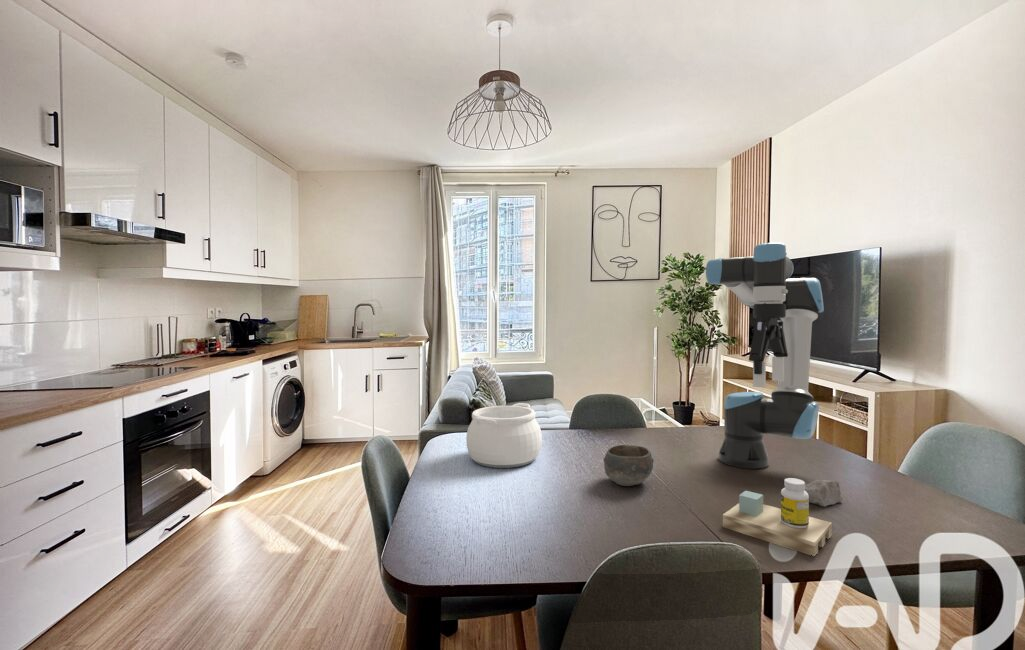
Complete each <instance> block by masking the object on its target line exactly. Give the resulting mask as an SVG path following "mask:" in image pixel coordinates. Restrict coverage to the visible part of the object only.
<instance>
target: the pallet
mask: <svg viewBox="0 0 1025 650" xmlns="http://www.w3.org/2000/svg"><path fill="white" fill-rule="evenodd" d="M722 528H724V529H728V530H730V531H733V532H736V533H741V534H743V535H746V536H749V537H753V538H755V539H758V540H762V541H765V542H768V543H771V544H774V545H777V546H781V547H784V548H787V549H790V550H792V549H793V551H795V550H796V552H798V551H799V553H802V554H805V555H808V556H811V555H812V556H811V557H814V556H815V555H816V554H817V555H818V553H819V548H821V547H822V548H824V546H825V545H826V540H830V539H829V538H831V537H832V536H833V534H832V533H833V523H832V522H831V521H826V520H823V519H819V518H816V517H812V516H809V525H808V527H807V528H793V527H790V526H787V525H785V524H784V523H783V522H782V521H781V508H778V507H776V506H771V505H767V504H764V503H763V512H762V513H761V514H759V515H758V516H753V515H750V514H746V513H743V512H739V502H738V503H737V504H736V505H734V506H732V508H730V509H729V510H727V511H726V512H724V513H722ZM826 538H827V539H826ZM818 546H819V547H818ZM817 555H816V556H817ZM816 556H815V557H816Z"/></svg>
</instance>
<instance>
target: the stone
mask: <svg viewBox="0 0 1025 650" xmlns="http://www.w3.org/2000/svg"><path fill="white" fill-rule="evenodd" d="M840 488H841V486H840V483H839V481H837V480H826V479H823V480H822V479H821V480H819V479H815V480H813V481H811V482H809V483H808V482H807V483H805V489H804V491H806V492H807V493H808V495H809V504H810V503H811V504H814V505H818V506H820V507H822V508H823V507H827V506H830V505H833V506H834V505H836V504H837V503H842V502H843V497H842V495H841V494H842V493H841V489H840Z"/></svg>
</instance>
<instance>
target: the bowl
mask: <svg viewBox="0 0 1025 650" xmlns="http://www.w3.org/2000/svg"><path fill="white" fill-rule="evenodd" d="M652 456H653V455H652V453H651V451H650V450H649V449H648V448H647V447H645V446H640V445H629V444H619V445H615V446H611V447H610V448H609V449H608V450H607V451H606V453H605V456H604V458H603V463H604V465H603V468H604V472H605V474H606V476H607V478H609V479H610V480H611V481H612V482H614V483H615V484H617V485H618V486H619V485H620V486H623V487H632V486H636V485H640V484H642V483H643V482H644V481H646V480H647V479H648V478H649V477H650V476H651V474H652V472H653V469H654V460H655V459H654V458H653V457H652Z"/></svg>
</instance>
